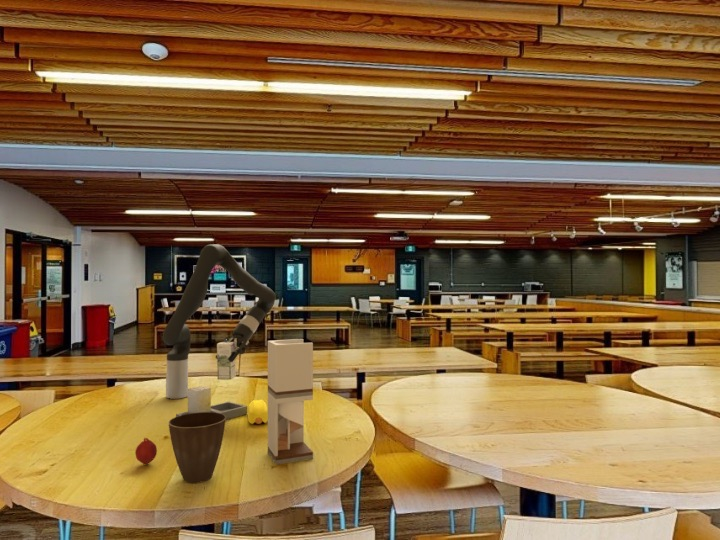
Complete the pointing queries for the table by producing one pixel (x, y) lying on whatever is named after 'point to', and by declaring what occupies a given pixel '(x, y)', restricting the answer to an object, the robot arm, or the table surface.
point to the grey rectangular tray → (226, 409)
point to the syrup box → (225, 361)
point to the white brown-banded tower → (288, 398)
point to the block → (199, 399)
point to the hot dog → (257, 412)
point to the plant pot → (197, 443)
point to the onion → (146, 451)
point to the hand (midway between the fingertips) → (223, 359)
